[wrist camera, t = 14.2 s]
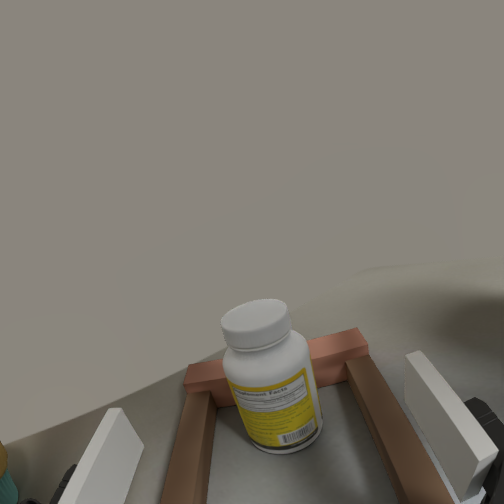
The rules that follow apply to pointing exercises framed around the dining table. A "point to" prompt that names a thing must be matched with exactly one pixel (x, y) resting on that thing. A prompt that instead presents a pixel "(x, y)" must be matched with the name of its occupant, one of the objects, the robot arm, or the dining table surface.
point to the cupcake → (6, 481)
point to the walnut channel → (326, 373)
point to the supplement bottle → (271, 377)
